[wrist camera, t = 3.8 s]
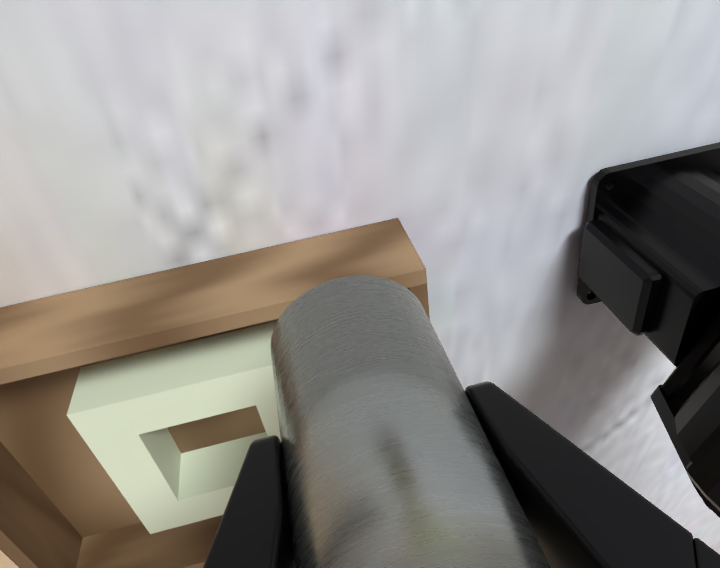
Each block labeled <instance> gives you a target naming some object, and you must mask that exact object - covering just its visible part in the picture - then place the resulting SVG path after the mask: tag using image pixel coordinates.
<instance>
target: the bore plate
mask: <svg viewBox="0 0 720 568" xmlns="http://www.w3.org/2000/svg"><path fill="white" fill-rule="evenodd" d="M276 323H277V321H274V322H269V323H265V324H261V325H257V326H253V327H248V328H244V329H240V330H236V331H232V332H227V333H223V334H219V335H215V336H211V337H206V338H202V339H198V340H194V341H190V342H185V343H181V344H177V345H173V346H169V347H164V348H160V349H156V350H152V351H148V352H143V353H139V354H135V355H131V356H127V357H122V358H118V359H114V360H110V361H106V362H101V363H97V364H93V365H89V366H84V367H81V368H80V371H79V375H78V378H77V381H76V385H75V388H74V392H73V395H72V399H71V402H70V405H69V409H68V412H67V417H68V418H69V419H70V421H71V422H72V424H73V425H74V427H75V428H76V429H77V431H78V432H79V434H80V435H81V437H82V438H83V439H84V441H85V442H86V444H87V445H88V446H89V448H90V449H91V451H92V452H93V454H94V455H95V456H96V458H97V459H98V461H99V462H100V463H101V465H102V466H103V468H104V469H105V471H106V472H107V473H108V475H109V476H110V478H111V479H112V481H113V482H114V483H115V485H116V486H117V488H118V489H119V490H120V492H121V493H122V495H123V496H124V498H125V499H126V500H127V502H128V503H129V505H130V506H131V508H132V509H133V510H134V512H135V513H136V515H137V516H138V517H139V519H140V520H141V522H142V523H143V525H144V526H145V527H146V529H147V530H148V532H149V533H150V534H153V533H157V532H160V531H164V530H168V529H172V528H175V527H179V526H183V525H187V524H190V523H194V522H198V521H202V520H205V519H209V518H213V517H217V516H220V515H223V514H224V511H225V509H226V506H227V503H228V501H229V498H230V496H231V493H232V490H233V488H234V485H235V483H236V480H237V477H238V475H239V472H240V469H241V467H242V464H243V462H244V459H245V456H246V454H247V451H248V449H249V446H250V444H251V443H252V442H253V441H254V440H256V439H260V438H264V437H268V436H272V435H276V436H278V437H279V439H280V442H281V438H280V429H279V420H278V412H277V403H276V394H275V385H274V376H273V367H272V358H271V337H272V333H273V330H274V327H275V325H276ZM255 405H256V407H257V409H258V412H259V415H260V417H261V420H262V423H263V425H264V428H265V431H266V432H263V433H259V434H255V435H252V436H248V437H244V438H240V439H236V440H232V441H228V442H224V443H220V444H216V445H212V446H208V447H205V448H201V449H197V450H193V451H189V452H185V453H181V452H180V451H179V449H178V447H177V445H176V443H175V441H174V439H173V438H172V436H171V434H170V432H169V430H168V428H167V427H171V426H175V425H179V424H183V423H187V422H191V421H195V420H199V419H203V418H207V417H211V416H215V415H219V414H223V413H227V412H231V411H235V410H239V409H243V408H247V407H251V406H255Z"/></svg>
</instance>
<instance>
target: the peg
mask: <svg viewBox="0 0 720 568" xmlns="http://www.w3.org/2000/svg"><path fill="white" fill-rule="evenodd" d="M271 358H272V367H273V376H274V385H275V394H276V403H277V412H278V420H279V429H280V438H281V446H282V455H283V464H284V473H285V482H286V491H287V500H288V508H289V517H290V527H291V536H292V545H293V554H294V562H295V568H551V567H550V565H549V563H548V561H547V559H546V556H545V554H544V552H543V550H542V548H541V546H540V544H539V542H538V540H537V538H536V536H535V534H534V532H533V530H532V528H531V526H530V524H529V522H528V520H527V518H526V516H525V514H524V512H523V510H522V508H521V506H520V504H519V501H518V499H517V497H516V495H515V493H514V491H513V489H512V487H511V485H510V483H509V481H508V479H507V477H506V475H505V473H504V471H503V469H502V467H501V465H500V463H499V461H498V459H497V457H496V455H495V453H494V451H493V449H492V446H491V444H490V442H489V440H488V438H487V436H486V434H485V432H484V430H483V428H482V426H481V424H480V422H479V420H478V418H477V416H476V414H475V412H474V410H473V408H472V406H471V404H470V402H469V400H468V398H467V396H466V394H465V391H464V389H463V387H462V385H461V383H460V381H459V379H458V377H457V375H456V373H455V371H454V369H453V367H452V365H451V363H450V361H449V359H448V357H447V355H446V353H445V351H444V349H443V347H442V345H441V343H440V341H439V339H438V336H437V334H436V332H435V330H434V328H433V326H432V324H431V322H430V320H429V318H428V316H427V314H426V312H425V310H424V308H423V306H422V304H421V303H420V301H419V300H418V298H417V297H416V296H415V295H414V294H413V293H412V292H411V291H410V290H409V289H407V288H406V287H404V286H402V285H401V284H399V283H397V282H394V281H392V280H389V279H386V278H382V277H376V276H365V275H358V276H347V277H342V278H337V279H334V280H330V281H327V282H325V283H322V284H320V285H317V286H315V287H313V288H312V289H310V290H308V291H306V292H305V293H303V294H302V295H301V296H299V297H298V298H297V299H296V300H294V301H293V302H292V303H291V304H290V305H289V306H288V307H287V308H286V309H285V311H284V312H283V313H282V315H281V316H280V318H279V319H278V321H277V323H276V325H275V327H274V330H273V333H272V337H271Z"/></svg>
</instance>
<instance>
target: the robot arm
mask: <svg viewBox="0 0 720 568" xmlns="http://www.w3.org/2000/svg"><path fill="white" fill-rule="evenodd" d="M608 179H609V182H608V183H607V184H606V185H604V182H605V181H606V180H608ZM603 185H604V186H603ZM578 276H579V280H578V288H577V296H578V297H579V299H580V300H581V301H582V302H583V303H584V304H593V303H597V302H601V301H602V302H603V303H604V304H605V305H606V306H607V307H608V308H609V309H610V310H611V311H612V312H613V313H614V314H615V316H616V317H617V318H618V319H619V320H620V321H621V322H622V323H623V324H624V325H625V326H626V327H627V328H628V329H629V331H631V332H632V333H634V334H635V335H642V334H645V335H646V336H647V337H648V338H649V339H650V340H651V341H652V342H653V343H654V344H655V346H656V347H657V348H658V349H659V350H660V351H661V352H662V353H663V354H664V355H665V356H666V357H667V358H668V359H669V360H670V361H671V362H672V363H673V364H674V365H675V366H676V369H675V370H674V371H673V372H672V374H671V375H670V376H669V378H668V379H667V380H666V381H665V383H664V384H663V385H659V386H658V387H657V388H656V390H655V391H654V392H653V394H652V395H651V399H652V401H653V403H654V405H655V407H656V409H657V411H658V413H659V416H660V418H661V420H662V422H663V424H664V426H665V428H666V430H667V432H668V434H669V436H670V438H671V440H672V442H673V445H674V447H675V449H676V451H677V453H678V455H679V457H680V459H681V461H682V463H683V465H684V467H685V469H686V471H687V474H688V476H689V478H690V480H691V482H692V484H693V485H694V487H695V489H696V490H697V492H698V494H699V495H700V496H701V498H702V499H703V501H704V503H705V504H706V506H707V507H708V508H709V509H711V510H712V511H713V512H714V513H715V514H716V515H717V516H718V517H719V518H720V142H719V143H715V144H710V145H706V146H702V147H697V148H693V149H688V150H684V151H679V152H675V153H670V154H666V155H662V156H657V157H653V158H648V159H644V160H639V161H635V162H631V163H626V164H622V165H617V166H613V167H608V168H605V169H602V170H600V171H599V172H598V173H596V175H595V176H594V178H593V180H592V184H591V191H590V199H589V206H588V214H587V221H586V225H585V227H584V231H583V238H582V246H581V253H580V261H579V268H578ZM589 292H590V293H589ZM588 293H589V294H588ZM465 394H466V396H467V398H468V400H469V402H470V404H471V406H472V408H473V410H474V412H475V414H476V416H477V418H478V420H479V422H480V424H481V426H482V428H483V430H484V432H485V434H486V436H487V438H488V440H489V442H490V444H491V446H492V449H493V451H494V453H495V455H496V457H497V459H498V461H499V463H500V465H501V467H502V469H503V471H504V473H505V475H506V477H507V479H508V481H509V483H510V485H511V487H512V489H513V491H514V493H515V495H516V497H517V499H518V501H519V504H520V506H521V508H522V510H523V512H524V514H525V516H526V518H527V520H528V522H529V524H530V526H531V528H532V530H533V532H534V534H535V536H536V538H537V540H538V542H539V544H540V546H541V548H542V550H543V552H544V554H545V556H546V559H547V561H548V563H549V565H550V567H551V568H720V555H719V554H718V553H717V552H715V551H714V550H713V549H711V548H710V547H709V546H707V545H706V544H705V543H704V542H702V541H701V540H700V539H698V538H694V539H693V536H692V534H691V533H690V532H689V531H687V530H686V529H685V528H683V527H682V526H681V525H680V524H678V523H677V522H676V521H674V520H673V519H672V518H670V517H669V516H668V515H666V514H665V513H664V512H662V511H661V510H660V509H658V508H657V507H656V506H654V505H653V504H652V503H650V502H649V501H648V500H647V499H645V498H644V497H643V496H641V495H640V494H639V493H637V492H636V491H635V490H633V489H632V488H631V487H629V486H628V485H627V484H625V483H624V482H623V481H621V480H620V479H619V478H617V477H616V476H615V475H614V474H612V473H611V472H610V471H608V470H607V469H606V468H604V467H603V466H602V465H600V464H599V463H598V462H596V461H595V460H594V459H592V458H591V457H590V456H588V455H587V454H586V453H584V452H583V451H582V450H581V449H579V448H578V447H577V446H575V445H574V444H573V443H571V442H570V441H569V440H567V439H566V438H565V437H563V436H562V435H561V434H559V433H558V432H557V431H555V430H554V429H553V428H551V427H550V426H549V425H548V424H546V423H545V422H544V421H542V420H541V419H540V418H538V417H537V416H536V415H534V414H533V413H532V412H530V411H529V410H528V409H526V408H525V407H524V406H522V405H521V404H520V403H519V402H517V401H516V400H515V399H513V398H512V397H511V396H509V395H508V394H507V393H505V392H504V391H503V390H501V389H500V388H499V387H497V386H496V385H495V384H493V383H491V382H483V383H479V384H475V385H471V386H468V387H467V388H466V390H465ZM203 568H295V562H294V554H293V545H292V536H291V527H290V517H289V508H288V500H287V491H286V482H285V473H284V464H283V455H282V446H281V442H280V439H279V437H278V436H276V435H272V436H268V437H264V438H260V439H256V440H254V441H253V442H252V443H251V444H250V446H249V449H248V451H247V454H246V456H245V459H244V462H243V464H242V467H241V469H240V472H239V475H238V477H237V480H236V483H235V485H234V488H233V490H232V493H231V496H230V498H229V501H228V503H227V506H226V509H225V511H224V514H223V516H222V519H221V522H220V524H219V527H218V529H217V532H216V535H215V537H214V540H213V542H212V545H211V548H210V550H209V553H208V555H207V558H206V561H205V563H204V566H203Z"/></svg>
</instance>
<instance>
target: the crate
mask: <svg viewBox="0 0 720 568" xmlns="http://www.w3.org/2000/svg"><path fill="white" fill-rule="evenodd" d="M358 275H365V276H376V277H382V278H386V279H389V280H392V281H394V282H397V283H399V284H401V285H402V286H404V287H406V288H407V289H409V290H410V291H411V292H412V293H413V294H414V295H415V296H416V297H417V298H418V300H419V301H420V303H421V304H422V306H423V308H424V310H425V312H426V314H427V316H428V318H429V305H428V292H427V278H426V268H425V266H424V265H423V263H422V261H421V259H420V257H419V255H418V254H417V252H416V250H415V248H414V246H413V245H412V243H411V241H410V239H409V237H408V235H407V234H406V232H405V230H404V228H403V226H402V224H401V223H400V221H399V219H398V218H396V219H391V220H387V221H382V222H378V223H374V224H369V225H365V226H360V227H356V228H351V229H347V230H343V231H338V232H334V233H329V234H325V235H320V236H316V237H312V238H307V239H303V240H298V241H294V242H289V243H285V244H281V245H276V246H272V247H267V248H263V249H258V250H254V251H250V252H245V253H241V254H236V255H232V256H227V257H223V258H219V259H214V260H210V261H205V262H201V263H196V264H192V265H188V266H183V267H179V268H174V269H170V270H165V271H161V272H157V273H152V274H148V275H143V276H139V277H134V278H130V279H126V280H121V281H117V282H112V283H108V284H103V285H99V286H95V287H90V288H86V289H81V290H77V291H72V292H68V293H64V294H59V295H55V296H50V297H46V298H41V299H37V300H33V301H28V302H24V303H19V304H15V305H10V306H6V307H2V308H0V550H1V551H2V552H3V553H4V554H5V555H6V556H8V557H9V558H10V559H11V560H12V561H13V562H14V563H15V564H16V565H17V566H18V567H19V568H203V566H204V563H205V561H206V558H207V555H208V553H209V550H210V548H211V545H212V542H213V540H214V537H215V535H216V532H217V529H218V527H219V524H220V522H221V519H222V516H223V515H220V516H217V517H213V518H209V519H205V520H202V521H198V522H194V523H190V524H187V525H183V526H179V527H175V528H172V529H168V530H164V531H160V532H157V533H153V534H150V533H149V532H148V530H147V529H146V527H145V526H144V525H143V523H142V522H141V520H140V519H139V517H138V516H137V515H136V513H135V512H134V510H133V509H132V508H131V506H130V505H129V503H128V502H127V500H126V499H125V498H124V496H123V495H122V493H121V492H120V490H119V489H118V488H117V486H116V485H115V483H114V482H113V481H112V479H111V478H110V476H109V475H108V473H107V472H106V471H105V469H104V468H103V466H102V465H101V463H100V462H99V461H98V459H97V458H96V456H95V455H94V454H93V452H92V451H91V449H90V448H89V446H88V445H87V444H86V442H85V441H84V439H83V438H82V437H81V435H80V434H79V432H78V431H77V429H76V428H75V427H74V425H73V424H72V422H71V421H70V419H69V418H68V417H67V412H68V409H69V405H70V402H71V399H72V395H73V392H74V388H75V385H76V381H77V378H78V375H79V371H80V368H81V367H84V366H89V365H93V364H97V363H101V362H106V361H110V360H114V359H118V358H122V357H127V356H131V355H135V354H139V353H143V352H148V351H152V350H156V349H160V348H164V347H169V346H173V345H177V344H181V343H185V342H190V341H194V340H198V339H202V338H206V337H211V336H215V335H219V334H223V333H227V332H232V331H236V330H240V329H244V328H248V327H253V326H257V325H261V324H265V323H269V322H274V321H278V319H279V318H280V316H281V315H282V313H283V312H284V311H285V309H286V308H287V307H288V306H289V305H290V304H291V303H292V302H293V301H294V300H296V299H297V298H298V297H299V296H301V295H302V294H303V293H305V292H306V291H308V290H310V289H312V288H313V287H315V286H317V285H320V284H322V283H325V282H327V281H330V280H334V279H337V278H342V277H347V276H358ZM429 320H430V318H429ZM167 428H168V430H169V432H170V434H171V436H172V438H173V439H174V441H175V443H176V445H177V447H178V449H179V451H180V452H181V453H185V452H189V451H193V450H197V449H201V448H205V447H208V446H212V445H216V444H220V443H224V442H228V441H232V440H236V439H240V438H244V437H248V436H252V435H255V434H259V433H263V432H266V431H265V428H264V425H263V423H262V420H261V417H260V415H259V412H258V409H257V407H256V405H255V406H251V407H247V408H243V409H239V410H235V411H231V412H227V413H223V414H219V415H215V416H211V417H207V418H203V419H199V420H195V421H191V422H187V423H183V424H179V425H175V426H171V427H167Z"/></svg>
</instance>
